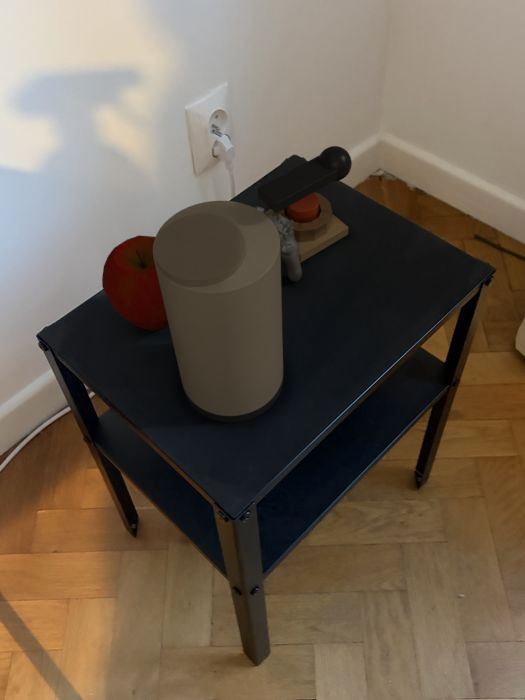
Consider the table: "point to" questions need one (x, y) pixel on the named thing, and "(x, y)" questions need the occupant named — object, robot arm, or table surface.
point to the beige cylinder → (223, 306)
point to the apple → (135, 283)
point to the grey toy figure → (287, 245)
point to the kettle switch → (306, 178)
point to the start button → (304, 209)
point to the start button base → (316, 229)
